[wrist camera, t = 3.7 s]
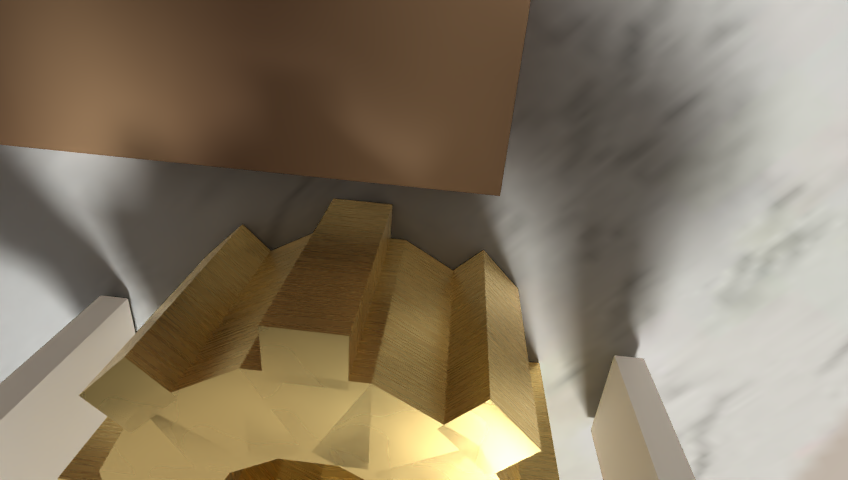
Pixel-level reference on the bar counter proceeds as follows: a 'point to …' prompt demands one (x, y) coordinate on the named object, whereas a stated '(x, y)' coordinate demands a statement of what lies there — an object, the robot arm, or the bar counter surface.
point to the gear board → (271, 85)
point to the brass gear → (325, 368)
